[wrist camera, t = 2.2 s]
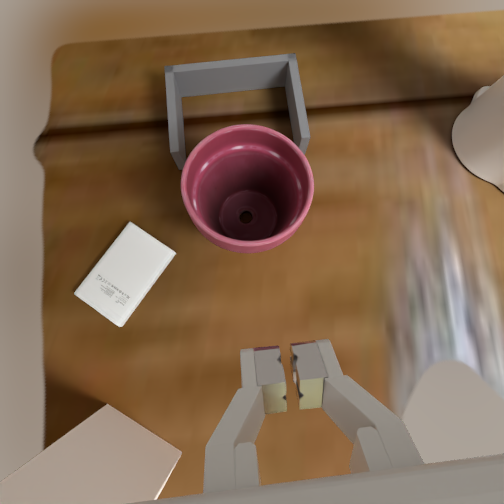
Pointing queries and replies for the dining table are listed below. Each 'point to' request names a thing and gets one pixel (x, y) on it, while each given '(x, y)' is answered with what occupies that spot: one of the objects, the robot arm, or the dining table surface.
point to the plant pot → (247, 187)
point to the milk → (95, 465)
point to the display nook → (232, 80)
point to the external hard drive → (125, 274)
